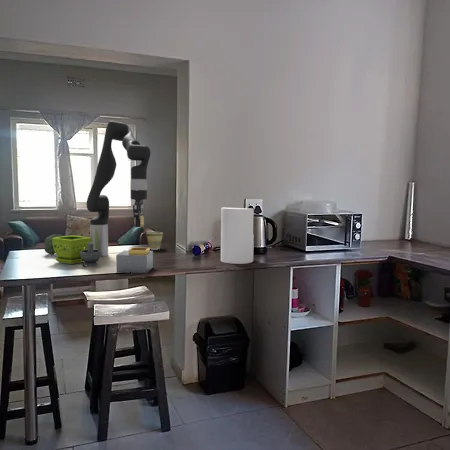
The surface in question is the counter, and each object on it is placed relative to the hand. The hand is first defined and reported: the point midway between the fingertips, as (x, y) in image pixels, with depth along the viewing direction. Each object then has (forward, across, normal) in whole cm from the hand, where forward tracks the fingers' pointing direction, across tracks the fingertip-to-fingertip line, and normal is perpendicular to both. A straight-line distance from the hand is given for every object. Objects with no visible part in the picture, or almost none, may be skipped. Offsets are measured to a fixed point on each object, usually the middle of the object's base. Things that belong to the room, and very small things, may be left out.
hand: (139, 225), depth 207 cm
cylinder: (+21, -30, +45) cm, 58 cm away
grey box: (+21, 0, -2) cm, 21 cm away
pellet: (0, 0, 0) cm, 0 cm away
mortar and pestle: (+21, -8, -26) cm, 34 cm away
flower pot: (+21, -15, -38) cm, 46 cm away
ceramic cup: (+21, -63, -5) cm, 67 cm away
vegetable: (+21, -36, -54) cm, 68 cm away
